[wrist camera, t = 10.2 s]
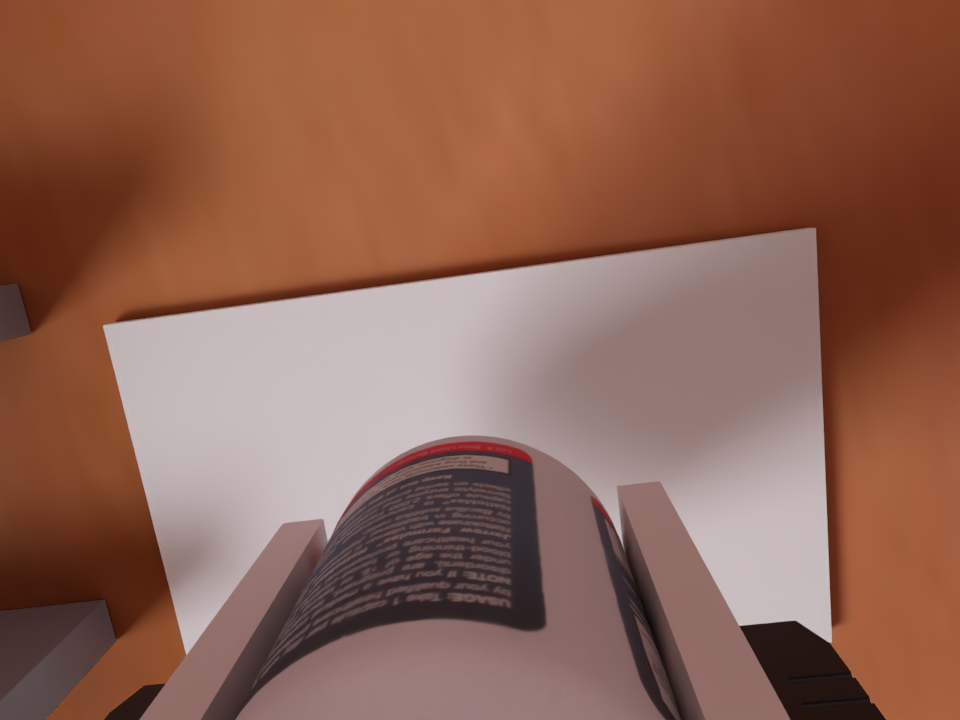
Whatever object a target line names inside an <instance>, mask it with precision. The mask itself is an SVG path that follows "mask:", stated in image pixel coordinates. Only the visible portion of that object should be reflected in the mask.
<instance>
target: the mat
mask: <svg viewBox="0 0 960 720" xmlns="http://www.w3.org/2000/svg"><path fill="white" fill-rule="evenodd" d="M103 328H104V332H105V336H106V340H107V344H108V348H109V352H110V356H111V360H112V364H113V368H114V372H115V376H116V380H117V384H118V388H119V392H120V395H121V399H122V403H123V407H124V411H125V415H126V419H127V423H128V427H129V431H130V435H131V439H132V443H133V447H134V451H135V455H136V459H137V462H138V466H139V470H140V474H141V478H142V482H143V486H144V490H145V494H146V498H147V502H148V506H149V510H150V514H151V518H152V522H153V526H154V529H155V533H156V537H157V541H158V545H159V549H160V553H161V557H162V561H163V565H164V569H165V573H166V577H167V581H168V585H169V589H170V593H171V597H172V600H173V604H174V608H175V612H176V616H177V620H178V624H179V628H180V632H181V636H182V640H183V644H184V648H185V652H186V655H187V654H188V652H189V651H190V650H191V648H192V647H193V646H194V644H195V643H196V642H197V640H198V639H199V637H200V636H201V635H202V633H203V632H204V631H205V629H206V628H207V626H208V625H209V624H210V622H211V621H212V620H213V618H214V617H215V616H216V614H217V613H218V611H219V610H220V609H221V607H222V606H223V605H224V603H225V602H226V600H227V599H228V598H229V596H230V595H231V594H232V592H233V591H234V590H235V588H236V587H237V585H238V584H239V583H240V581H241V580H242V579H243V577H244V576H245V574H246V573H247V572H248V570H249V569H250V568H251V566H252V565H253V563H254V562H255V561H256V559H257V558H258V557H259V555H260V554H261V553H262V551H263V550H264V548H265V547H266V546H267V544H268V543H269V542H270V540H271V539H272V537H273V536H274V535H275V533H276V532H277V531H278V529H279V528H280V527H281V525H282V524H283V523H289V522H298V521H307V520H316V519H323V520H324V525H325V530H326V535H327V540H328V541H329V539H330V538H331V536H332V534H333V532H334V529H335V527H336V525H337V523H338V521H339V519H340V518H341V516H342V514H343V513H344V511H345V510H346V508H347V506H348V504H349V503H350V501H351V500H352V498H353V497H354V495H355V494H356V492H357V491H358V490H359V489H360V488H361V486H362V485H363V484H364V483H365V482H366V481H367V480H368V479H369V478H370V477H371V476H372V475H373V474H374V473H375V472H376V471H377V470H378V469H380V468H381V467H382V466H384V465H385V464H386V463H388V462H389V461H391V460H392V459H394V458H395V457H397V456H398V455H400V454H402V453H404V452H406V451H408V450H410V449H412V448H414V447H417V446H419V445H422V444H425V443H428V442H431V441H435V440H439V439H443V438H448V437H456V436H471V435H478V436H491V437H498V438H503V439H508V440H512V441H515V442H519V443H522V444H525V445H528V446H530V447H533V448H535V449H537V450H539V451H541V452H543V453H545V454H547V455H549V456H551V457H553V458H555V459H556V460H558V461H560V462H561V463H562V464H564V465H565V466H566V467H568V468H569V469H570V470H572V471H573V472H574V473H575V474H577V475H578V476H579V477H580V478H581V479H582V480H583V481H584V482H585V483H586V484H587V485H588V487H589V488H590V489H591V490H592V491H593V492H594V494H595V495H596V496H597V497H598V499H599V500H600V502H601V503H602V504H603V506H604V507H605V509H606V510H607V512H608V514H609V516H610V518H611V520H612V522H613V524H614V527H615V529H616V531H617V534H618V536H619V538H620V540H621V543H622V546H623V542H622V533H621V523H620V514H619V504H618V494H617V486H620V485H629V484H638V483H647V482H656V481H660V482H661V484H662V486H663V488H664V489H665V491H666V493H667V495H668V497H669V499H670V500H671V502H672V504H673V506H674V508H675V510H676V511H677V513H678V515H679V517H680V519H681V520H682V522H683V524H684V526H685V528H686V530H687V531H688V533H689V535H690V537H691V539H692V541H693V542H694V544H695V546H696V548H697V550H698V552H699V553H700V555H701V557H702V559H703V561H704V562H705V564H706V566H707V568H708V570H709V572H710V573H711V575H712V577H713V579H714V581H715V583H716V584H717V586H718V588H719V590H720V592H721V594H722V595H723V597H724V599H725V601H726V603H727V605H728V606H729V608H730V610H731V612H732V614H733V615H734V617H735V619H736V621H737V623H738V625H739V626H743V625H753V624H764V623H774V622H785V621H795V620H796V621H797V622H799V623H800V624H802V625H803V626H805V627H806V628H808V629H809V630H811V631H812V632H814V633H815V634H817V635H818V636H820V637H821V638H823V639H824V640H826V641H827V642H832V630H831V605H830V579H829V553H828V527H827V501H826V475H825V449H824V423H823V397H822V371H821V345H820V319H819V293H818V267H817V241H816V228H802V229H794V230H787V231H780V232H772V233H765V234H758V235H750V236H743V237H736V238H728V239H721V240H714V241H706V242H699V243H692V244H684V245H677V246H670V247H662V248H655V249H648V250H640V251H633V252H626V253H618V254H611V255H604V256H596V257H589V258H582V259H574V260H567V261H560V262H552V263H545V264H538V265H531V266H523V267H516V268H509V269H501V270H494V271H487V272H479V273H472V274H465V275H457V276H450V277H443V278H435V279H428V280H421V281H413V282H406V283H399V284H391V285H384V286H377V287H369V288H362V289H355V290H347V291H340V292H333V293H325V294H318V295H311V296H303V297H296V298H289V299H281V300H274V301H267V302H259V303H252V304H245V305H238V306H230V307H223V308H216V309H208V310H201V311H194V312H186V313H179V314H172V315H164V316H157V317H150V318H142V319H135V320H128V321H120V322H113V323H109V324H106V325H103Z"/></svg>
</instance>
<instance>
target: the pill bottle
mask: <svg viewBox="0 0 960 720" xmlns="http://www.w3.org/2000/svg"><path fill="white" fill-rule="evenodd" d="M234 720H682V719H681V716H680V713H679V710H678V707H677V704H676V701H675V698H674V695H673V692H672V689H671V685H670V683H669V680H668V677H667V673H666V670H665V668H664V665H663V663H662V660H661V657H660V654H659V651H658V648H657V645H656V642H655V639H654V636H653V633H652V630H651V627H650V624H649V622H648V619H647V616H646V613H645V610H644V607H643V604H642V602H641V597H640V594H639V591H638V589H637V586H636V583H635V580H634V577H633V575H632V572H631V569H630V566H629V564H628V561H627V558H626V555H625V552H624V549H623V546H622V543H621V540H620V538H619V536H618V534H617V531H616V529H615V527H614V524H613V522H612V520H611V518H610V516H609V514H608V512H607V510H606V509H605V507H604V506H603V504H602V503H601V502H600V500H599V499H598V497H597V496H596V495H595V494H594V492H593V491H592V490H591V489H590V488H589V487H588V485H587V484H586V483H585V482H584V481H583V480H582V479H581V478H580V477H579V476H578V475H577V474H575V473H574V472H573V471H572V470H570V469H569V468H568V467H566V466H565V465H564V464H562V463H561V462H560V461H558V460H556V459H555V458H553V457H551V456H549V455H547V454H545V453H543V452H541V451H539V450H537V449H535V448H533V447H530V446H528V445H525V444H522V443H519V442H515V441H512V440H508V439H503V438H498V437H491V436H478V435H471V436H456V437H448V438H443V439H439V440H435V441H431V442H428V443H425V444H422V445H419V446H417V447H414V448H412V449H410V450H408V451H406V452H404V453H402V454H400V455H398V456H397V457H395V458H394V459H392V460H391V461H389V462H388V463H386V464H385V465H384V466H382V467H381V468H380V469H378V470H377V471H376V472H375V473H374V474H373V475H372V476H371V477H370V478H369V479H368V480H367V481H366V482H365V483H364V484H363V485H362V486H361V488H360V489H359V490H358V491H357V492H356V494H355V495H354V497H353V498H352V500H351V501H350V503H349V504H348V506H347V508H346V510H345V511H344V513H343V514H342V516H341V518H340V519H339V521H338V523H337V525H336V527H335V529H334V532H333V534H332V536H331V538H330V539H329V541H328V543H327V545H326V547H325V549H324V551H323V553H322V554H321V556H320V558H319V560H318V562H317V564H316V566H315V568H314V570H313V572H312V574H311V576H310V577H309V579H308V581H307V583H306V585H305V587H304V589H303V591H302V593H301V595H300V597H299V598H298V600H297V602H296V604H295V606H294V608H293V609H292V611H291V613H290V615H289V617H288V619H287V621H286V623H285V625H284V627H283V628H282V630H281V632H280V634H279V636H278V638H277V640H276V642H275V644H274V645H273V647H272V649H271V651H270V653H269V655H268V657H267V659H266V660H265V662H264V664H263V666H262V668H261V669H260V671H259V673H258V675H257V677H256V678H255V680H254V682H253V684H252V686H251V688H250V690H249V692H248V694H247V696H246V698H245V699H244V701H243V703H242V705H241V707H240V708H239V710H238V712H237V714H236V716H235V718H234Z"/></svg>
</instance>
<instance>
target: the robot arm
mask: <svg viewBox="0 0 960 720" xmlns="http://www.w3.org/2000/svg"><path fill="white" fill-rule="evenodd" d="M617 494H618V504H619V514H620V523H621V533H622V542H623V549H624V552H625V555H626V558H627V561H628V564H629V566H630V569H631V572H632V575H633V577H634V580H635V583H636V586H637V589H638V591H639V594H640V597H641V602H642V604H643V607H644V610H645V613H646V616H647V619H648V622H649V624H650V627H651V630H652V633H653V636H654V639H655V642H656V645H657V648H658V651H659V654H660V657H661V660H662V663H663V665H664V668H665V670H666V673H667V677H668V680H669V683H670V685H671V689H672V692H673V695H674V698H675V701H676V704H677V707H678V710H679V713H680V716H681V719H682V720H886V719H885V718H884V716H883V715H882V714H881V712H880V711H879V710H878V708H877V707H876V706H875V704H874V703H873V704H871V702H870V699H869V696H868V695H867V693H866V692H865V691H864V689H863V688H862V686H861V685H860V684H859V682H858V681H857V680H856V678H852V675H851V672H850V670H849V669H848V667H847V666H846V665H845V663H844V662H843V661H842V659H841V658H840V657H839V655H838V654H837V652H836V651H835V650H834V648H833V647H832V646H831V644H830V643H829V642H827V641H826V640H824V639H823V638H821V637H820V636H818V635H817V634H815V633H814V632H812V631H811V630H809V629H808V628H806V627H805V626H803V625H802V624H800V623H799V622H797V621H796V620H795V621H785V622H774V623H764V624H753V625H743V626H739V625H738V623H737V621H736V619H735V617H734V615H733V614H732V612H731V610H730V608H729V606H728V605H727V603H726V601H725V599H724V597H723V595H722V594H721V592H720V590H719V588H718V586H717V584H716V583H715V581H714V579H713V577H712V575H711V573H710V572H709V570H708V568H707V566H706V564H705V562H704V561H703V559H702V557H701V555H700V553H699V552H698V550H697V548H696V546H695V544H694V542H693V541H692V539H691V537H690V535H689V533H688V531H687V530H686V528H685V526H684V524H683V522H682V520H681V519H680V517H679V515H678V513H677V511H676V510H675V508H674V506H673V504H672V502H671V500H670V499H669V497H668V495H667V493H666V491H665V489H664V488H663V486H662V484H661V482H660V481H656V482H647V483H638V484H629V485H620V486H617ZM327 543H328V540H327V535H326V530H325V525H324V520H323V519H316V520H307V521H298V522H289V523H283V524H282V525H281V527H280V528H279V529H278V531H277V532H276V533H275V535H274V536H273V537H272V539H271V540H270V542H269V543H268V544H267V546H266V547H265V548H264V550H263V551H262V553H261V554H260V555H259V557H258V558H257V559H256V561H255V562H254V563H253V565H252V566H251V568H250V569H249V570H248V572H247V573H246V574H245V576H244V577H243V579H242V580H241V581H240V583H239V584H238V585H237V587H236V588H235V590H234V591H233V592H232V594H231V595H230V596H229V598H228V599H227V600H226V602H225V603H224V605H223V606H222V607H221V609H220V610H219V611H218V613H217V614H216V616H215V617H214V618H213V620H212V621H211V622H210V624H209V625H208V626H207V628H206V629H205V631H204V632H203V633H202V635H201V636H200V637H199V639H198V640H197V642H196V643H195V644H194V646H193V647H192V648H191V650H190V651H189V652H188V654H187V655H186V657H185V658H184V659H183V661H182V662H181V663H180V665H179V666H178V668H177V669H176V670H175V672H174V673H173V674H172V676H171V677H170V679H169V680H168V681H167V683H166V684H156V685H146V686H143V687H142V688H141V689H140V690H138V691H137V692H136V693H134V694H133V695H132V696H131V697H129V698H128V699H127V700H126V701H124V702H123V703H122V704H120V705H119V706H118V707H117V708H115V709H114V710H113V711H112V712H110V713H109V714H108V716H107V717H106V718H105V719H104V720H234V718H235V716H236V714H237V712H238V710H239V708H240V707H241V705H242V703H243V701H244V699H245V698H246V696H247V694H248V692H249V690H250V688H251V686H252V684H253V682H254V680H255V678H256V677H257V675H258V673H259V671H260V669H261V668H262V666H263V664H264V662H265V660H266V659H267V657H268V655H269V653H270V651H271V649H272V647H273V645H274V644H275V642H276V640H277V638H278V636H279V634H280V632H281V630H282V628H283V627H284V625H285V623H286V621H287V619H288V617H289V615H290V613H291V611H292V609H293V608H294V606H295V604H296V602H297V600H298V598H299V597H300V595H301V593H302V591H303V589H304V587H305V585H306V583H307V581H308V579H309V577H310V576H311V574H312V572H313V570H314V568H315V566H316V564H317V562H318V560H319V558H320V556H321V554H322V553H323V551H324V549H325V547H326V545H327Z"/></svg>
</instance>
